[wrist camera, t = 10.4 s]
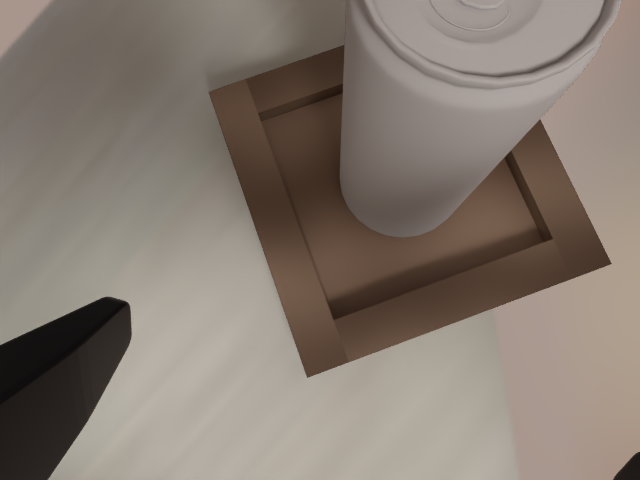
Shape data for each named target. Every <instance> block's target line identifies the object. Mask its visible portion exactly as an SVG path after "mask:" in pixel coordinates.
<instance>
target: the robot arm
mask: <svg viewBox="0 0 640 480" xmlns="http://www.w3.org/2000/svg"><path fill="white" fill-rule="evenodd" d="M131 334H132V331H131V312H130V305H129V304H128V302H126V301H123V300H120V299H116V298H113V297H103V298H101V299H99V300H97V301H94V302H92V303H90V304H88V305H86V306H84V307H81V308H79V309H77V310H75V311H73V312H71V313H69V314H66V315H64V316H62V317H60V318H58V319H56V320H53V321H51V322H49V323H47V324H45V325H43V326H40V327H38V328H36V329H34V330H32V331H30V332H28V333H25V334H23V335H21V336H19V337H17V338H15V339H12V340H10V341H8V342H6V343H4V344H2V345H0V480H48V478H49V477H50V476H51V474H52V473H53V471H54V470H55V468H56V467H57V465H58V464H59V462H60V461H61V460H62V458H63V457H64V455H65V454H66V452H67V451H68V449H69V448H70V446H71V445H72V444H73V442H74V441H75V439H76V438H77V436H78V435H79V433H80V432H81V430H82V429H83V427H84V426H85V424H86V423H87V421H88V419H89V418H90V416H91V414H92V412H93V411H94V409H95V407H96V405H97V403H98V402H99V400H100V398H101V396H102V394H103V392H104V391H105V389H106V387H107V385H108V383H109V381H110V379H111V378H112V376H113V374H114V372H115V370H116V368H117V367H118V365H119V363H120V361H121V359H122V357H123V355H124V354H125V352H126V350H127V348H128V346H129V343H130V340H131ZM613 480H640V452H638V453H636V454H635V455H634V456H633V457H632V458H631V459H630V460H629V461H628V462H627V463H626V465H625V466H624V467H623V468H622V469H621V470H620V471H619V472H618V473H617V474H616V476H615V477H614V479H613Z"/></svg>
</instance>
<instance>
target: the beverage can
mask: <svg viewBox="0 0 640 480" xmlns="http://www.w3.org/2000/svg"><path fill="white" fill-rule="evenodd" d="M621 1H622V0H346V22H345V48H344V74H343V100H342V126H341V153H340V185H341V191H342V195H343V197H344V199H345V202H346V204H347V206H348V208H349V209H350V211H351V212H352V213H353V214H354V216H355V217H356V218H357V219H358V220H359V221H360V222H362V223H363V224H364V225H366V226H367V227H368V228H370V229H371V230H374V231H376V232H379V233H381V234H384V235H386V236H394V237H402V238H404V237H411V236H419V235H421V234H424V233H426V232H429V231H431V230H434V229H435V228H436V227H438V226H439V225H440V224H442V223H443V222H444V221H445V220H447V219H448V218H449V216H450V215H451V214H452V213H453V212H454V211H455V210H456V209H457V208H458V207H459V206H460V205H461V204H462V202H463V201H464V200H465V199H466V198H467V197H468V196H469V195H470V194H471V193H472V192H473V191H474V190H475V188H476V187H477V186H478V185H479V184H480V183H481V182H482V181H483V180H484V179H485V178H486V177H487V176H488V174H489V173H490V172H491V171H492V170H493V169H494V168H495V167H496V166H497V165H498V164H499V163H500V162H501V160H502V159H503V158H504V157H505V156H506V155H507V154H508V153H509V152H510V151H511V150H512V149H513V148H514V146H515V145H516V144H517V143H518V142H519V141H520V140H521V139H522V138H523V137H524V136H525V135H526V134H527V132H528V131H529V130H530V129H531V128H532V127H533V126H534V125H535V124H536V123H537V122H538V121H539V120H540V118H541V117H542V116H543V115H544V114H545V113H546V112H547V111H548V110H549V109H550V108H551V106H552V105H553V104H554V103H555V102H556V101H557V100H558V99H559V98H560V97H561V96H562V95H563V94H564V92H565V91H566V90H567V89H568V88H569V87H570V86H571V85H572V84H573V83H574V82H575V81H576V80H577V78H578V77H579V76H580V74H581V73H582V72H583V70H584V69H585V67H586V66H587V65H588V63H589V62H590V61H591V59H592V58H593V57H594V55H595V54H596V53H597V51H598V50H599V48H600V46H601V43H602V40H603V37H604V35H605V33H606V32H607V30H608V29H609V28H610V27H611V25H612V24H613V23H614V21H615V19H616V16H617V13H618V10H619V7H620V4H621Z"/></svg>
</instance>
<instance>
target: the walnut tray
mask: <svg viewBox="0 0 640 480" xmlns="http://www.w3.org/2000/svg"><path fill="white" fill-rule="evenodd" d="M344 48H345V45H343V46H341V47H338V48H335V49H332V50H329V51H326V52H323V53H320V54H317V55H314V56H312V57H309V58H306V59H303V60H300V61H297V62H294V63H291V64H288V65H285V66H283V67H280V68H277V69H274V70H271V71H268V72H265V73H262V74H259V75H256V76H254V77H251V78H248V79H245V80H242V81H239V82H236V83H233V84H230V85H227V86H224V87H222V88H219V89H216V90H213V91H210V92H209V95H210V97H211V100H212V103H213V106H214V109H215V112H216V115H217V118H218V121H219V124H220V126H221V129H222V132H223V135H224V138H225V141H226V144H227V147H228V150H229V152H230V155H231V158H232V161H233V164H234V167H235V170H236V173H237V176H238V179H239V181H240V184H241V187H242V190H243V193H244V196H245V199H246V202H247V205H248V207H249V210H250V213H251V216H252V219H253V222H254V225H255V228H256V231H257V234H258V236H259V239H260V242H261V245H262V248H263V251H264V254H265V257H266V260H267V263H268V265H269V268H270V271H271V274H272V277H273V280H274V283H275V286H276V289H277V291H278V294H279V297H280V300H281V303H282V306H283V309H284V312H285V315H286V318H287V320H288V323H289V326H290V329H291V332H292V335H293V338H294V341H295V344H296V347H297V349H298V352H299V355H300V358H301V361H302V364H303V367H304V370H305V373H306V375H307V378H308V377H311V376H313V375H316V374H319V373H321V372H324V371H327V370H329V369H332V368H335V367H337V366H340V365H343V364H345V363H348V362H351V361H353V360H356V359H359V358H361V357H364V356H367V355H369V354H372V353H375V352H377V351H380V350H383V349H385V348H388V347H391V346H393V345H396V344H399V343H401V342H404V341H407V340H409V339H412V338H415V337H417V336H420V335H423V334H426V333H428V332H431V331H434V330H436V329H439V328H442V327H444V326H447V325H450V324H452V323H455V322H458V321H460V320H463V319H466V318H468V317H471V316H474V315H476V314H479V313H482V312H484V311H487V310H490V309H492V308H495V307H498V306H500V305H503V304H506V303H508V302H511V301H514V300H516V299H519V298H522V297H524V296H527V295H530V294H532V293H535V292H538V291H540V290H543V289H546V288H549V287H551V286H554V285H557V284H559V283H562V282H565V281H567V280H570V279H573V278H575V277H578V276H581V275H583V274H586V273H589V272H591V271H594V270H597V269H599V268H602V267H605V266H607V265H610V264H611V262H610V260H609V258H608V256H607V254H606V252H605V250H604V248H603V246H602V243H601V241H600V239H599V238H598V235H597V234H596V231H595V229H594V227H593V225H592V223H591V221H590V219H589V217H588V215H587V213H586V211H585V209H584V207H583V205H582V203H581V201H580V199H579V197H578V195H577V193H576V191H575V189H574V187H573V185H572V183H571V181H570V179H569V177H568V175H567V173H566V171H565V169H564V167H563V165H562V163H561V161H560V159H559V157H558V155H557V153H556V150H555V148H554V146H553V145H552V142H551V140H550V138H549V136H548V135H547V132H546V130H545V128H544V126H543V124H542V122H541V120H539V121H538V122H537V123H536V124H535V125H534V126H533V127H532V128H531V129H530V130H529V131H528V132H527V134H526V135H525V136H524V137H523V138H522V139H521V140H520V141H519V142H518V143H517V144H516V145H515V146H514V148H513V149H512V150H511V151H510V152H509V153H508V154H507V155H506V156H505V157H504V158H503V159H502V160H501V162H500V163H499V164H498V165H497V166H496V167H495V168H494V169H493V170H492V171H491V172H490V173H489V174H488V176H487V177H486V178H485V179H484V180H483V181H482V182H481V183H480V184H479V185H478V186H477V187H476V188H475V190H474V191H473V192H472V193H471V194H470V195H469V196H468V197H467V198H466V199H465V200H464V201H463V202H462V204H461V205H460V206H459V207H458V208H457V209H456V210H455V211H454V212H453V213H452V214H451V215H450V216H449V218H448V219H447V220H445V221H444V222H443V223H442V224H440V225H439V226H438V227H436V228H435V229H434V230H431V231H429V232H426V233H424V234H421V235H419V236H411V237H404V238H402V237H394V236H386V235H384V234H381V233H379V232H376V231H374V230H371V229H370V228H368V227H367V226H366V225H364V224H363V223H362V222H360V221H359V220H358V219H357V218H356V217H355V216H354V214H353V213H352V212H351V211H350V209H349V208H348V206H347V204H346V202H345V199H344V197H343V195H342V191H341V185H340V153H341V126H342V100H343V74H344Z"/></svg>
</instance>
